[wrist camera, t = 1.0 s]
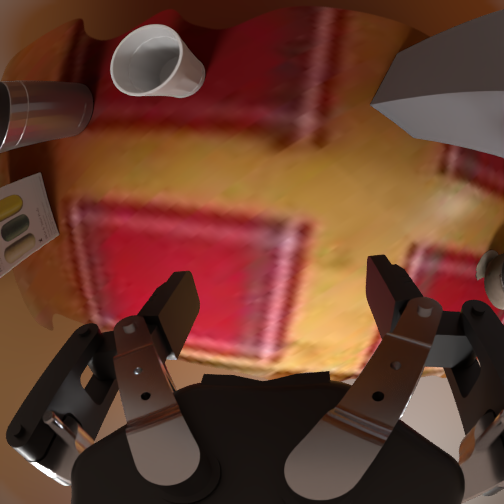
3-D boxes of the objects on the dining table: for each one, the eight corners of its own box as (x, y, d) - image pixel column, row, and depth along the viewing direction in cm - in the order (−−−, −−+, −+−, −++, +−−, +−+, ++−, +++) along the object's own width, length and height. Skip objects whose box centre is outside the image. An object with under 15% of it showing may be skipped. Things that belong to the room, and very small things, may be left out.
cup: (187, 40, 28) (153, 11, 17) (223, 76, 30) (199, 54, 19) (145, 78, 30) (98, 66, 20) (178, 114, 33) (137, 111, 22)
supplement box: (61, 235, 43) (-1, 281, 27) (27, 245, 45) (-25, 284, 29) (41, 170, 37) (-29, 199, 21) (10, 189, 39) (-49, 218, 23)
